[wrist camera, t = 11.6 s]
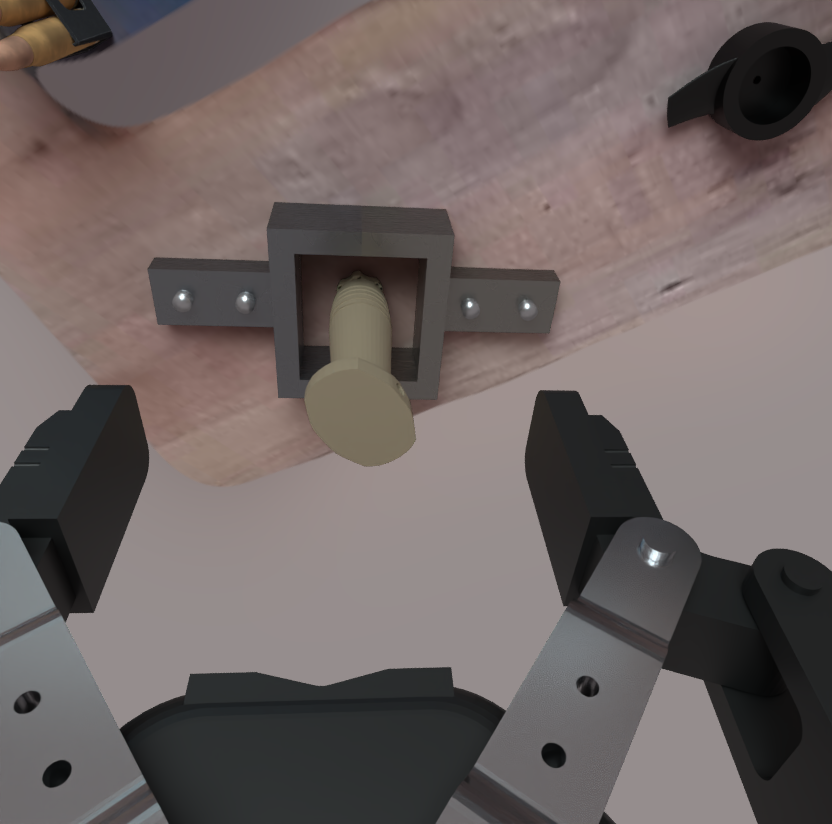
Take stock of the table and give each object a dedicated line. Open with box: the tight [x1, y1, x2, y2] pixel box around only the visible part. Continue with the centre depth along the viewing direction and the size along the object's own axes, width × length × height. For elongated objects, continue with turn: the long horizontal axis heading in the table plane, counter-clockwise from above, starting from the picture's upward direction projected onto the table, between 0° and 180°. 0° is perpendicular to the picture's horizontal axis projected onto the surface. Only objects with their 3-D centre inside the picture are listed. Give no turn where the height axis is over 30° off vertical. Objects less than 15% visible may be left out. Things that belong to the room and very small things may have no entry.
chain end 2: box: [361, 206, 560, 400], centre depth 45 cm, size 14×12×4 cm
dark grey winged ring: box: [667, 22, 832, 140], centre depth 38 cm, size 8×10×3 cm
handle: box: [304, 271, 416, 466], centre depth 40 cm, size 5×6×15 cm
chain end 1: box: [148, 202, 362, 398], centre depth 43 cm, size 14×12×4 cm
